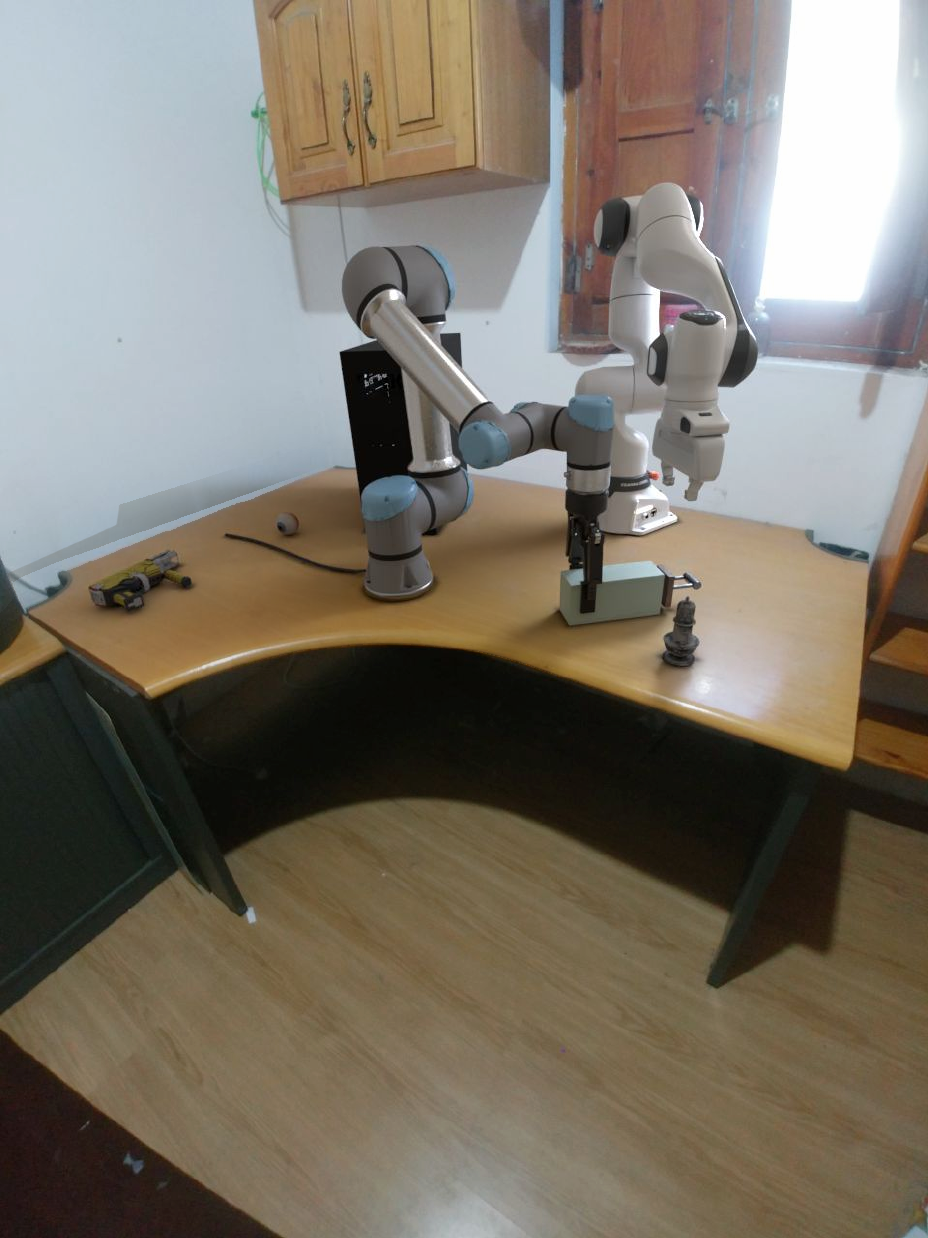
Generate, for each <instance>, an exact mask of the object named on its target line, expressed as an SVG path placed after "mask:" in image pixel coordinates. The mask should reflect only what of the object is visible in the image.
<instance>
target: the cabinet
mask: <svg viewBox="0 0 928 1238" xmlns="http://www.w3.org/2000/svg"><path fill="white" fill-rule="evenodd" d="M664 578H665V574H664V573H663V572H661V571H660V570H659V569H658V568H657V565H656V564H655V563H653V562H652V561H651V560H642V561H634V562H624V563H615V564H608V565H603V577H602V584H597V589H596V604H595V612H593V613H585V614H581V613H580V602H581V584H580V581H584V577H583V568H580V569H571V570H569V569H565V570H564V569H563V570H560V578H559V579H560V580H559V605H558V606H559V608H558V609H559V612H561V614H562V616H563V617H564V619H565V621H566V623H567V624H568V625H569V626H579V625H585V624H595V623H602V622H610V621H617V620H618V621H619V620H625V619H633V618H640V617H650V616H657V615H661V607H662V604H661V601H662V593H663V586H664Z"/></svg>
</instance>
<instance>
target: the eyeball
mask: <svg viewBox="0 0 928 1238" xmlns="http://www.w3.org/2000/svg"><path fill="white" fill-rule="evenodd" d="M299 525H300V522H299V519H298V517H297V516H296V515H295V514H294V513H292V512H287V511H286V512H282V513H280V514H279V515H278V516H277V517H276V520H275V527H276V529H277V530H278V531H279V532H280V533H281V534H282V535H285V536H286V535H287V536H289V535H293V534H295V533H296V532H297V531H298V529H299Z"/></svg>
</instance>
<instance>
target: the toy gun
mask: <svg viewBox="0 0 928 1238" xmlns="http://www.w3.org/2000/svg"><path fill="white" fill-rule="evenodd" d="M174 558H176V561H172V559H174ZM179 565H180V560H179V554H178V552H177V551H176V550H172V551H171V549H166V550H165V551H163V552H159V554H155V555H154V556H152V557H150V558H145V559H144V560H141V561H138V562H137V563H135V564H133V565H131V566H130V565H129V567H128V566H127V567H126V568H124V569H122V570H120V571H118V572H116V573H113V574H111V575H109V576H107V577H105V578H103V579H100V580H98V581H97V582H94V583H92V584H90V585H88V588H87V589H88V592H89V595H90V600H91V602H92V604H94V605H95V607H99V608H103V607H112V606H117V605H121V606H123V607H124V609H125V612H126V613H128V614H129V613H131V612H133V611H136V610H138V609H140V608H143V607H145V605H146V604H145V600H144V595H143V594H145V593H146V592H149V591H150V589H151V587H152V586H154V585H156V584H159V583H161V582H163V581H164V580H166V581H169V582H171V583H174V584H177V585H181V586H182V588H188V587H190V586H191V585H192V582H193V581H192V578H191V577H190V576H186V575H184V574H181V573H178V572H177V571H174V570H172V569H173V568H175V567H177V566H179Z"/></svg>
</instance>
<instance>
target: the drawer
mask: <svg viewBox="0 0 928 1238" xmlns="http://www.w3.org/2000/svg"><path fill="white" fill-rule="evenodd" d="M656 567H657V568H658V569H659V570H660V571H661V572H663V573H664V574H665V578H664V586H663V593H662V601H661V606H663V608H664V609H668V608H671V607H672V606H671V605H672V602H673V601H672V600H673V594H674V590H682V589H691V588H692V589H693V590H695V591H697V590H700V589H701V587H702V583H701V581H699V580H698V579H697V578H696V577H695V576H694V575H693V574H691V573H690V572H689V571H686V572H684V573H683V574H682V575H677V576H675V575H674V574H673V573H672V572H671V571H670V570H669V569H667V567H665V565H663V564H657V565H656ZM681 580H683V581H684V582H685V583H684V584H675V581H681Z"/></svg>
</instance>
